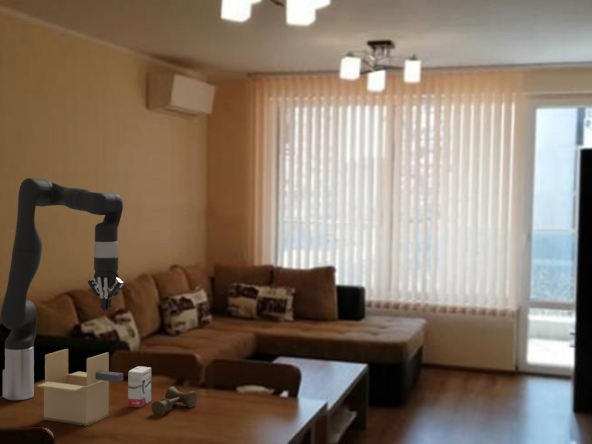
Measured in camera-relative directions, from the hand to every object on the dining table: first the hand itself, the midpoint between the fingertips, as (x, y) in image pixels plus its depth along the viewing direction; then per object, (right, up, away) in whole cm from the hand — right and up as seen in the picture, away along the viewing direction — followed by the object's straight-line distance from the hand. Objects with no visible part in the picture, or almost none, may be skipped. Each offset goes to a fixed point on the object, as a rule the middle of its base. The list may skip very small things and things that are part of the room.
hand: (106, 310), depth 232 cm
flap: (-1, -17, -8) cm, 19 cm away
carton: (-8, -33, -4) cm, 34 cm away
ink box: (+8, -33, +12) cm, 36 cm away
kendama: (+21, -34, +7) cm, 40 cm away
